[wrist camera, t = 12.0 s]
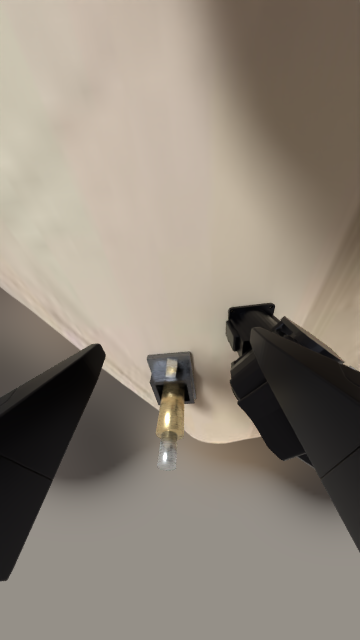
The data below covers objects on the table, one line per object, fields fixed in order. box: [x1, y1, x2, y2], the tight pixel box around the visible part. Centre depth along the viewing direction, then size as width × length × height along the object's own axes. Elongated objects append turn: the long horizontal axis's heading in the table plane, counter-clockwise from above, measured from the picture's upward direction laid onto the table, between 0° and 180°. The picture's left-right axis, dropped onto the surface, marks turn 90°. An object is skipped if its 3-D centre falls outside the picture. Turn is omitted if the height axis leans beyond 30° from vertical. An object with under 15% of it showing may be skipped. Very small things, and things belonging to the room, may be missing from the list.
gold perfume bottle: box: [156, 383, 185, 471], centre depth 24 cm, size 4×4×12 cm
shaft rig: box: [147, 352, 196, 405], centre depth 28 cm, size 8×14×4 cm, turn 8°
